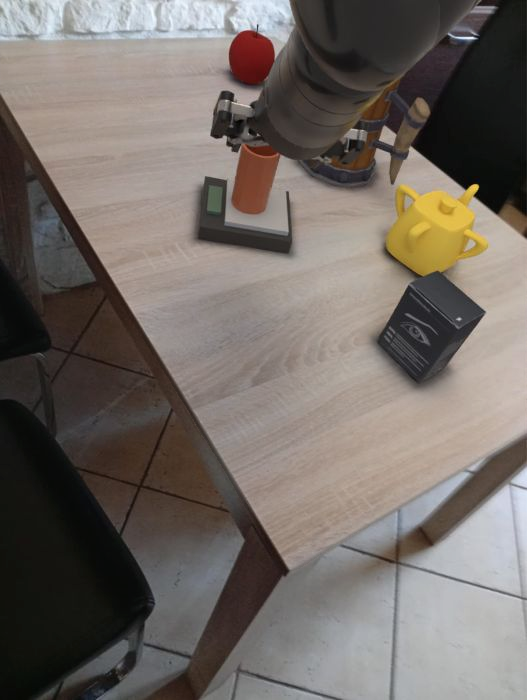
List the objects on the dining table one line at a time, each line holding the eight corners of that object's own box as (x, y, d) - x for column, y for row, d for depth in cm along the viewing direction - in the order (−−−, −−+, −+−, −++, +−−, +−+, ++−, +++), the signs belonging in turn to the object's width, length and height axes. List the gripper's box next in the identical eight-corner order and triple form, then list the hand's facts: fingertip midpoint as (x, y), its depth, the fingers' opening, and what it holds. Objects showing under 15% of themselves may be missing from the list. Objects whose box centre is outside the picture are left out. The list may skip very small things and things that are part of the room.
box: (445, 368, 67) (490, 312, 59) (417, 385, 65) (460, 329, 56) (402, 326, 71) (439, 267, 62) (374, 340, 68) (409, 281, 60)
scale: (197, 238, 73) (200, 221, 71) (203, 188, 80) (205, 171, 78) (288, 253, 75) (293, 237, 73) (285, 203, 83) (290, 186, 80)
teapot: (375, 218, 85) (401, 162, 77) (448, 233, 87) (480, 180, 79) (384, 275, 77) (414, 219, 69) (465, 291, 78) (503, 238, 71)
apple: (215, 74, 105) (223, 19, 97) (243, 64, 110) (252, 11, 103) (251, 95, 103) (262, 40, 95) (277, 84, 108) (290, 31, 101)
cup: (230, 211, 73) (242, 153, 66) (231, 189, 77) (242, 132, 70) (266, 217, 74) (281, 160, 67) (266, 195, 77) (280, 139, 71)
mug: (410, 186, 94) (466, 73, 79) (366, 213, 86) (420, 92, 70) (328, 132, 100) (366, 17, 85) (279, 153, 91) (312, 29, 76)
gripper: (406, 68, 41) (342, 129, 57) (228, 24, 39) (213, 100, 55) (389, 164, 42) (331, 198, 58) (214, 127, 40) (203, 173, 56)
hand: (274, 150), depth 56 cm, fingers open, 8 cm apart
